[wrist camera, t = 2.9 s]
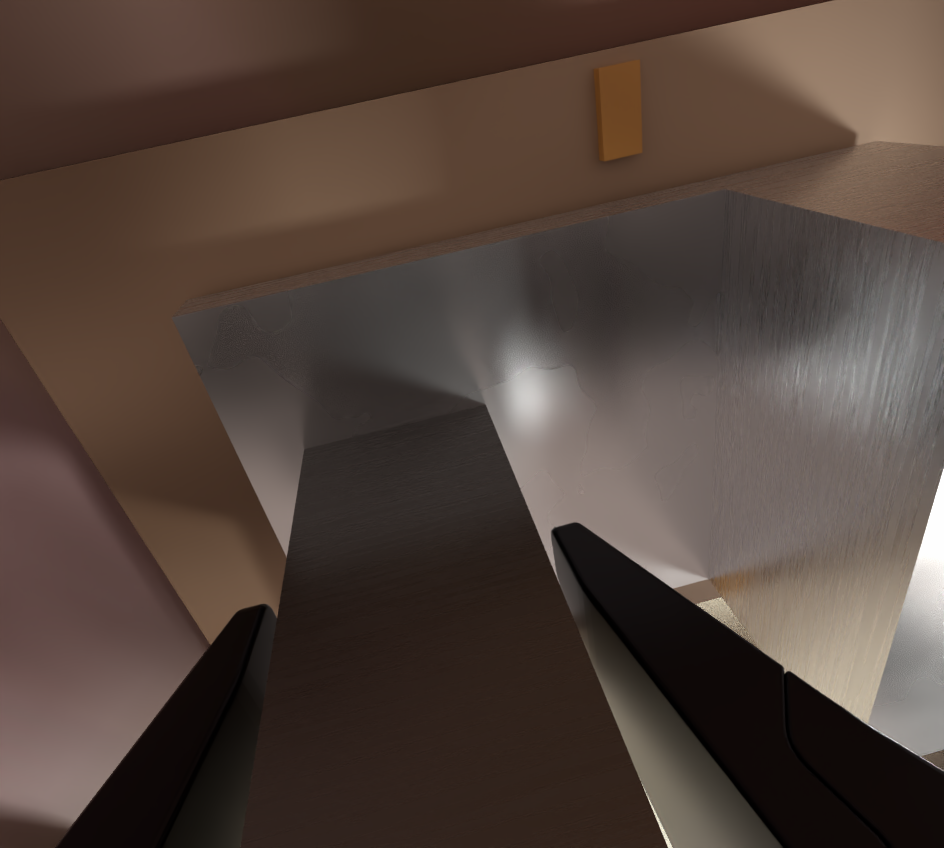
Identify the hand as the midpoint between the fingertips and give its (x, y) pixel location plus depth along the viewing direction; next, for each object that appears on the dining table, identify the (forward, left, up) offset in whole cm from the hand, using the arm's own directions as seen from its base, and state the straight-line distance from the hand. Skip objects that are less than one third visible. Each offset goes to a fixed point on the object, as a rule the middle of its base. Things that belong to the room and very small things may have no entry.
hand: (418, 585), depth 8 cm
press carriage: (0, -3, -3) cm, 4 cm away
